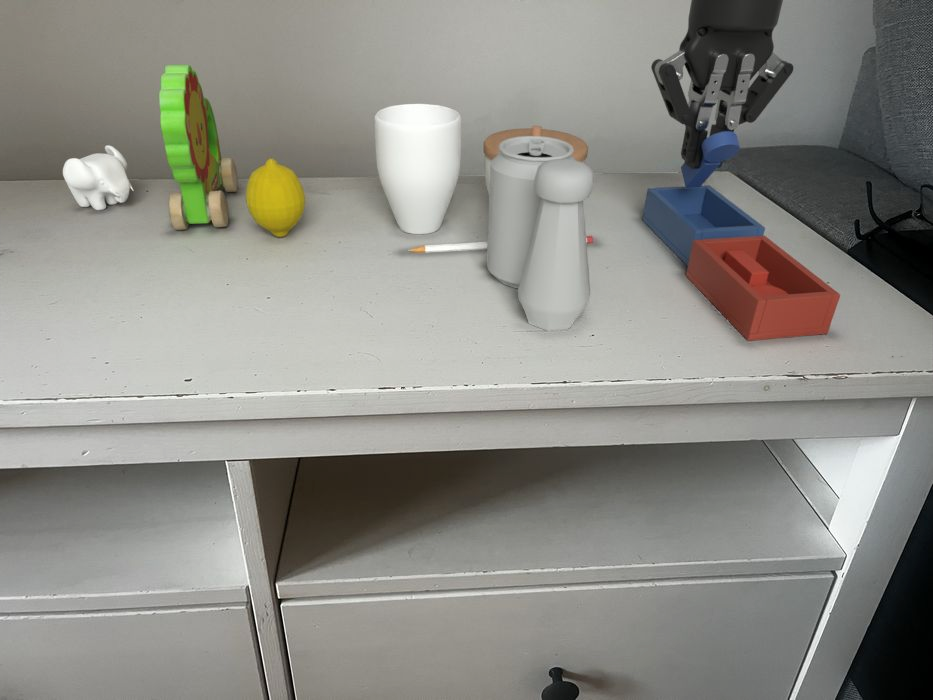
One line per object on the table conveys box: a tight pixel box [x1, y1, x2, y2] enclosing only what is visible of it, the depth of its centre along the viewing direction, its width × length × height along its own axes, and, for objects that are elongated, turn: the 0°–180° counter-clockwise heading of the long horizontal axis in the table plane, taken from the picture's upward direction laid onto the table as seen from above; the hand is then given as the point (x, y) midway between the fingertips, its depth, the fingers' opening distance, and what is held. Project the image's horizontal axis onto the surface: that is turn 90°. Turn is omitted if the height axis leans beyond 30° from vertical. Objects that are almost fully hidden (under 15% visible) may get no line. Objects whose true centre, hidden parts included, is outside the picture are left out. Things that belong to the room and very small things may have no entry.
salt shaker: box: [517, 159, 595, 332], centre depth 56 cm, size 6×6×13 cm
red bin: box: [685, 235, 841, 341], centre depth 61 cm, size 7×11×4 cm, turn 10°
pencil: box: [406, 235, 594, 254], centre depth 71 cm, size 1×19×1 cm, turn 100°
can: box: [486, 136, 576, 289], centre depth 63 cm, size 8×8×12 cm
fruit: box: [245, 156, 306, 238], centre depth 70 cm, size 6×6×8 cm
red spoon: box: [724, 250, 788, 297], centre depth 62 cm, size 8×3×2 cm, turn 10°
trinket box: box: [482, 125, 589, 193], centre depth 76 cm, size 11×11×9 cm
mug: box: [373, 103, 462, 235], centre depth 73 cm, size 12×8×11 cm
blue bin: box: [642, 184, 766, 267], centre depth 72 cm, size 7×11×4 cm, turn 10°
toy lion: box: [158, 64, 239, 231], centre depth 73 cm, size 16×5×15 cm, turn 9°
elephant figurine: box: [62, 145, 135, 211], centre depth 76 cm, size 7×8×6 cm
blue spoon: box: [680, 131, 741, 188], centre depth 69 cm, size 8×3×2 cm
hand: (702, 165), depth 70 cm, fingers closed on blue spoon, 1 cm apart
